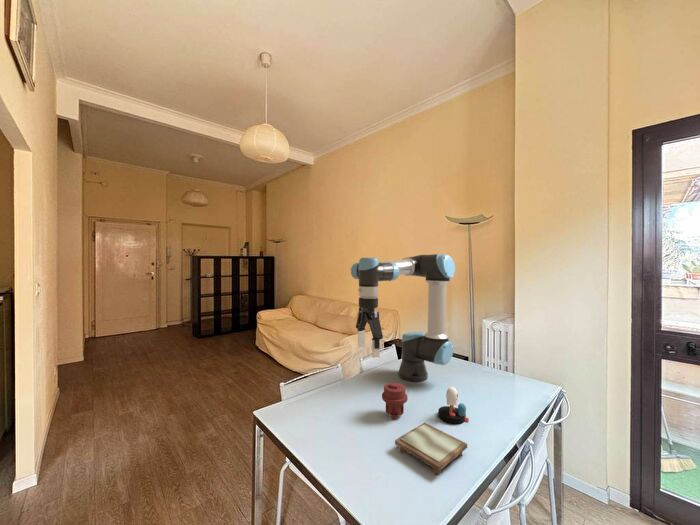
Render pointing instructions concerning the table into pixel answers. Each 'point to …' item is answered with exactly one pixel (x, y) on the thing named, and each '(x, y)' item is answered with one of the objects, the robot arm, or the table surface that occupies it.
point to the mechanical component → (394, 399)
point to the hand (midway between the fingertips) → (368, 351)
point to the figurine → (452, 409)
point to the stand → (431, 446)
